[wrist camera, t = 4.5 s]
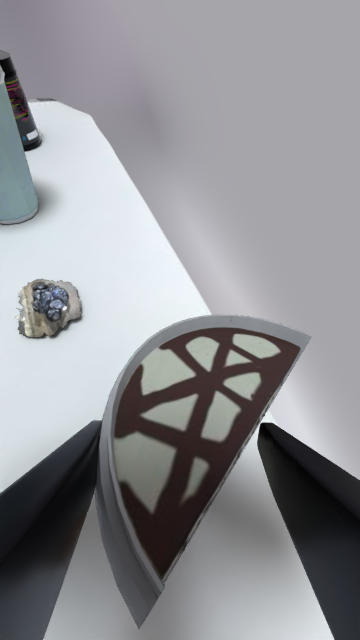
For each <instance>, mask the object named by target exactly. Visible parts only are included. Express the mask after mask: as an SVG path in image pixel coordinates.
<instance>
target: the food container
mask: <svg viewBox="0 0 360 640" xmlns="http://www.w3.org/2000/svg"><path fill="white" fill-rule="evenodd" d="M311 337H312V336H311V335H309V334H306V333H304V332H302V331H299V330H297V329H294V328H292V327H289V326H286V325H283V324H280V323H276V322H273V321H268V320H265V319H261V318H255V317H250V316H242V315H221V314H218V315H206V316H199V317H194V318H190V319H186V320H183V321H180V322H177V323H174V324H172V325H170V326H168V327H166V328H164V329H162V330H160V331H159V332H157V333H156V334H154V335H153V336H152V337H150V338H149V339H147V340H146V341H145V342H144V343H143V344H142V345H141V346H140V347H139V348H138V349H137V350H136V351H135V353H134V354H133V355H132V357H131V358H130V360H129V361H128V362H127V364H126V365H125V367H124V369H123V370H122V371H121V373H120V374H119V376H118V378H117V380H116V382H115V384H114V386H113V388H112V390H111V392H110V395H109V398H108V402H107V405H106V408H105V412H104V415H103V419H102V429H101V435H100V442H99V449H98V463H97V479H96V486H95V502H96V507H97V513H98V519H99V525H100V530H101V536H102V542H103V545H104V548H105V551H106V554H107V557H108V560H109V563H110V566H111V569H112V572H113V575H114V578H115V581H116V584H117V587H118V589H119V591H120V593H121V595H122V597H123V599H124V601H125V603H126V604H127V606H128V608H129V610H130V612H131V614H132V616H133V618H134V620H135V622H136V624H137V626H138V628H140V627H141V625H142V624H143V622H144V620H145V619H146V617H147V616H148V614H149V612H150V611H151V609H152V607H153V606H154V604H155V602H156V601H157V599H158V597H159V596H160V594H161V593H162V591H163V589H164V585H165V581H166V580H167V578H168V576H169V575H170V573H171V571H172V570H173V568H174V566H175V565H176V563H177V561H178V560H179V558H180V556H181V554H182V553H183V551H185V548H186V546H187V544H188V543H189V541H190V539H191V538H192V536H193V534H194V533H195V531H196V529H197V528H198V526H199V524H200V523H201V521H202V519H203V517H204V516H205V514H206V512H207V511H208V509H209V507H210V506H211V505H212V502H213V501H214V499H215V497H216V496H217V494H218V492H219V491H220V489H221V487H222V485H223V484H224V482H225V480H226V479H227V477H228V475H229V474H230V472H231V470H232V469H233V467H234V465H235V464H236V462H237V460H238V459H239V457H240V455H241V454H242V452H243V450H244V448H245V447H246V445H247V443H248V442H249V440H250V438H251V437H252V435H253V433H254V432H255V430H256V429H257V427H258V425H259V424H260V422H261V420H262V419H263V417H264V416H265V414H266V412H267V410H268V409H269V407H270V405H271V403H272V402H273V400H274V399H275V397H276V395H277V394H278V392H279V390H280V389H281V387H282V385H283V384H284V382H285V380H286V379H287V377H288V376H289V374H290V372H291V371H292V369H293V367H294V366H295V364H296V362H297V361H298V359H299V357H300V356H301V353H302V352H303V350H304V349H305V347H306V346H307V344H308V342H309V341H310V339H311Z"/></svg>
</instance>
